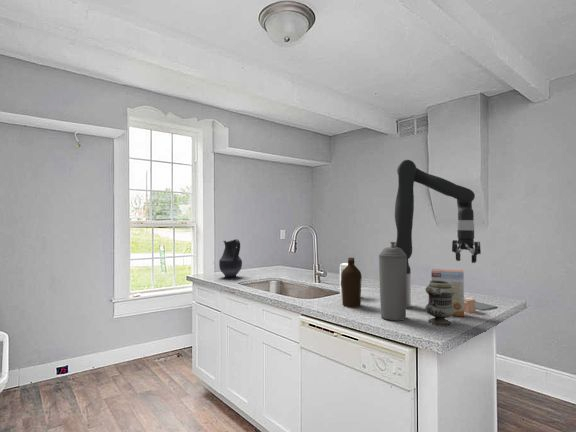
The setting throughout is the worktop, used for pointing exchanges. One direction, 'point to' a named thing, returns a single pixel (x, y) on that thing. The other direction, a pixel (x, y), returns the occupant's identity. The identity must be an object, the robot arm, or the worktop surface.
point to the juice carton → (342, 267)
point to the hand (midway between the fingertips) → (465, 261)
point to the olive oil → (351, 285)
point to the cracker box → (456, 283)
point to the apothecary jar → (440, 302)
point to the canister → (393, 282)
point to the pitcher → (231, 259)
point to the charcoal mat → (483, 306)
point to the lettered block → (469, 305)
